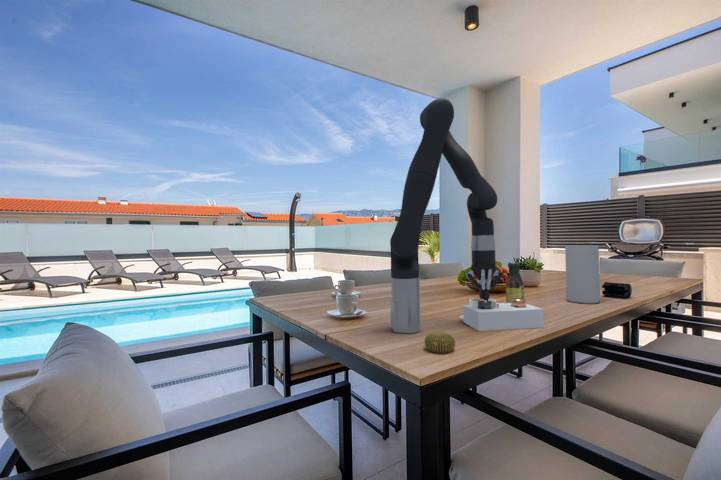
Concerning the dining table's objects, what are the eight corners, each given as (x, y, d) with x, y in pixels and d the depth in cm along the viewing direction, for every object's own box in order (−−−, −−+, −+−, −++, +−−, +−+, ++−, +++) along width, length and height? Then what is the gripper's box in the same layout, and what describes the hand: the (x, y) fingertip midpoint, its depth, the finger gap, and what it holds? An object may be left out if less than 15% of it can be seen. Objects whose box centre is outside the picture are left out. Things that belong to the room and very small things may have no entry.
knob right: (516, 325, 113) (515, 300, 113) (508, 322, 118) (508, 298, 118) (529, 324, 114) (528, 299, 114) (521, 321, 118) (520, 297, 118)
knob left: (481, 327, 112) (480, 301, 112) (475, 323, 116) (474, 299, 116) (494, 326, 112) (494, 301, 112) (488, 323, 117) (487, 299, 117)
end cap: (632, 297, 158) (631, 283, 158) (627, 299, 154) (626, 284, 154) (606, 295, 166) (606, 281, 166) (601, 297, 162) (600, 282, 162)
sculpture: (418, 335, 92) (436, 329, 97) (418, 350, 92) (437, 343, 97) (442, 341, 85) (460, 334, 90) (442, 357, 85) (461, 349, 90)
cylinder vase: (605, 301, 150) (603, 245, 150) (592, 305, 143) (591, 246, 143) (574, 298, 160) (573, 245, 160) (561, 301, 153) (559, 246, 153)
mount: (478, 331, 108) (478, 312, 108) (463, 322, 120) (463, 305, 120) (543, 327, 110) (543, 309, 110) (522, 319, 122) (521, 302, 122)
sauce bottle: (527, 317, 124) (525, 263, 124) (508, 317, 126) (507, 263, 126) (522, 313, 131) (520, 262, 131) (504, 313, 132) (503, 262, 132)
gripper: (468, 249, 110) (470, 303, 110) (507, 248, 111) (509, 301, 111) (459, 249, 117) (461, 299, 117) (496, 248, 119) (497, 297, 119)
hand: (484, 300), depth 114 cm, fingers closed
